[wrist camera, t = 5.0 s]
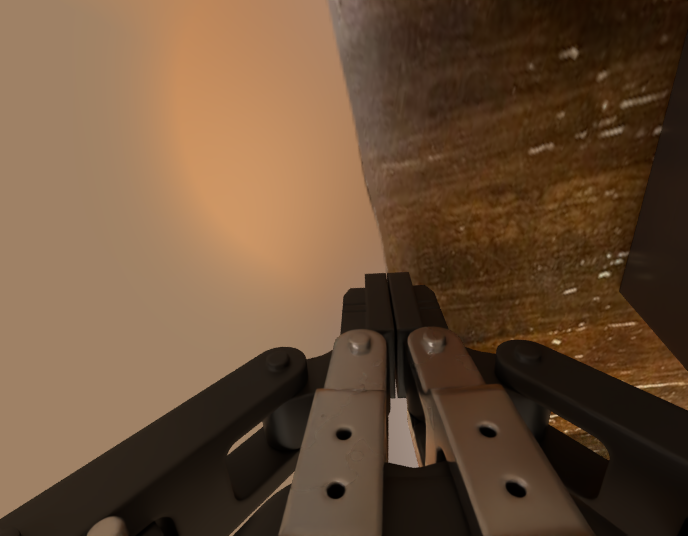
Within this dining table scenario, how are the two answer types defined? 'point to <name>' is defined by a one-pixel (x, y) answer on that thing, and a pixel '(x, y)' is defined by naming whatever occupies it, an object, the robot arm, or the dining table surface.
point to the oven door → (665, 230)
